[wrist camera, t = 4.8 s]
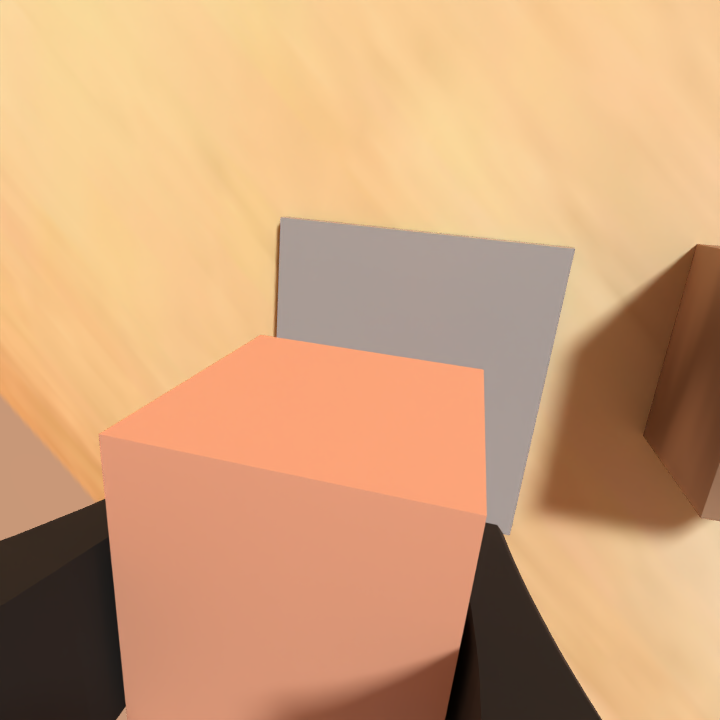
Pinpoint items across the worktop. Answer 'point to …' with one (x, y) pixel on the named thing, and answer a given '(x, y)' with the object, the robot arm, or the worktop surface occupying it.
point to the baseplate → (435, 317)
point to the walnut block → (692, 390)
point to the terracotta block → (297, 535)
